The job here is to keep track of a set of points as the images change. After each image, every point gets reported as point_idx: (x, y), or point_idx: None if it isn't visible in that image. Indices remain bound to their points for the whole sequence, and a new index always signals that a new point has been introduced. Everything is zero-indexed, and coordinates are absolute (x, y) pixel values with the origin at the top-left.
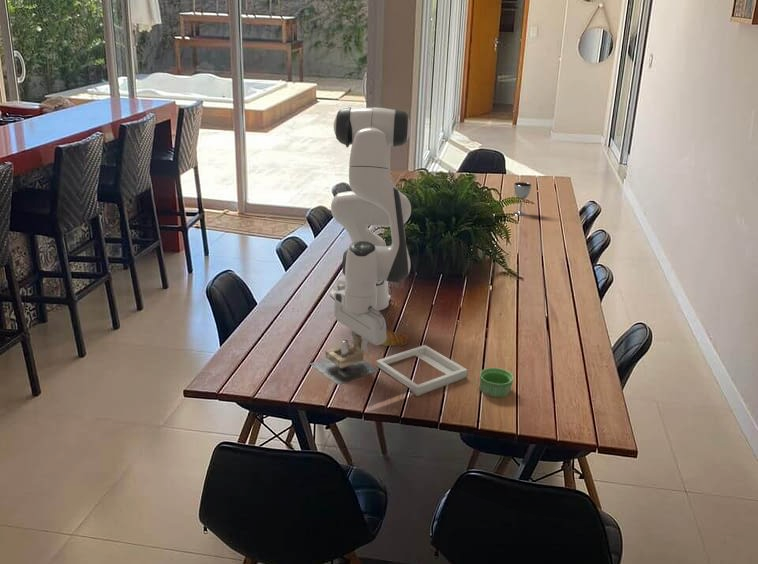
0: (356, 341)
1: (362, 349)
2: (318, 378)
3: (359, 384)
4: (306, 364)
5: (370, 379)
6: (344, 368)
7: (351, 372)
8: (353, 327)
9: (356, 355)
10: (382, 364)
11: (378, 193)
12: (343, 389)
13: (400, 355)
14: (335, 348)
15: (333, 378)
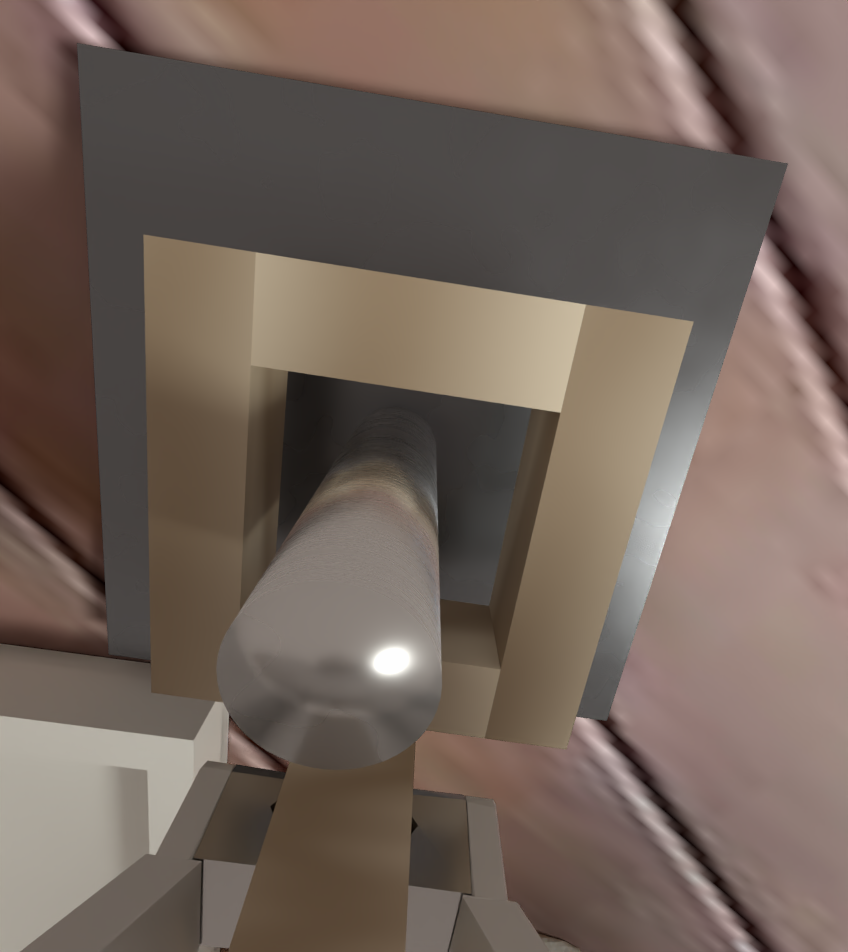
0: (308, 866)
1: (206, 767)
2: (457, 46)
3: (53, 348)
4: (830, 191)
5: (85, 505)
6: (359, 422)
7: None
8: None
9: (189, 605)
10: (84, 730)
11: None
12: (44, 110)
13: None
14: (613, 521)
15: (252, 132)
